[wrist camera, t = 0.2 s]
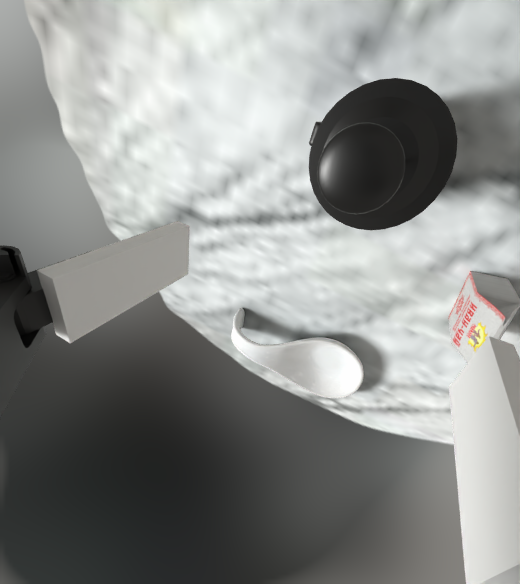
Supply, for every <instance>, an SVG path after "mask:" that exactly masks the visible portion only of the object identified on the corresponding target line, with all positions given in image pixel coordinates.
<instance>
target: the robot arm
mask: <svg viewBox="0 0 520 584" xmlns="http://www.w3.org/2000/svg"><path fill="white" fill-rule="evenodd" d="M188 265H189V225H186V224H183V223H180V222H178V221H176V222H174V223H171V224H168V225H165V226H162V227H159V228H156V229H153V230H151V231H148V232H145V233H142V234H139V235H136V236H133V237H131V238H128V239H125V240H122V241H119V242H116V243H113V244H111V245H108V246H105V247H102V248H99V249H96V250H93V251H90V252H87V253H84V254H81V255H79V256H75V257H73V258H70V259H68V260H64V261H61V262H58V263H55V264H53V265H50V266H47V267H44V268H41V269H38V270H35V271H32V272H30V273H27V270H26V267H25V264H24V261H23V258H22V255H21V252H20V251H19V249H18V248H15V247H12V246H0V418H1V416H2V414H3V412H4V410H5V409H6V407H7V405H8V403H9V401H10V399H11V398H12V396H13V394H14V392H15V390H16V388H17V386H18V385H19V383H20V381H21V379H22V377H23V375H24V373H25V372H26V370H27V368H28V366H29V364H30V362H31V360H32V358H33V356H34V355H35V353H36V351H37V349H38V348H39V346H40V344H41V342H42V340H43V338H44V337H45V335H46V328H45V326H46V325H48V324H49V323H51V322H53V325H54V329H55V332H56V334H57V335H58V336H59V337H61V338H63V339H64V340H66V341H67V342H69V343H72V342H73V341H75V340H77V339H78V338H80V337H82V336H83V335H85V334H87V333H89V332H90V331H92V330H94V329H95V328H97V327H99V326H101V325H102V324H104V323H105V322H107V321H109V320H111V319H112V318H114V317H116V316H117V315H119V314H121V313H123V312H124V311H126V310H128V309H129V308H131V307H133V306H134V305H136V304H138V303H140V302H141V301H143V300H145V299H146V298H148V297H150V296H151V295H153V294H155V293H157V292H158V291H160V290H162V289H164V288H165V287H167V286H169V285H170V284H172V283H174V282H175V281H177V280H179V279H181V278H182V277H184V276H186V275H187V274H188ZM449 393H450V405H451V416H452V427H453V439H454V450H455V462H456V473H457V483H458V496H459V506H460V519H461V530H462V540H463V553H464V564H465V575H466V584H520V359H519V356H518V354H517V352H516V349H515V347H514V345H512V344H510V343H507V342H504V341H501V340H499V339H496V338H493V337H491V336H488V338H487V339H486V340H485V341H484V343H483V344H482V345H481V346H480V348H479V349H478V350H477V352H476V353H475V354H474V355H473V357H472V358H471V359H470V360H469V362H468V363H467V364H466V366H465V367H464V368H463V369H462V371H461V372H460V373H459V374H458V376H457V377H456V378H455V380H454V381H453V382H452V383H451V385H450V386H449Z"/></svg>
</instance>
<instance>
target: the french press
mask: <svg viewBox="0 0 520 584" xmlns="http://www.w3.org/2000/svg"><path fill="white" fill-rule="evenodd" d="M309 144H310V145H311V146H312V147H311V151H310V157H309V173H310V181H311V184H312V188H313V191H314V194H315V195H316V197H317V199H318V201H319V203H320V204H321V205H322V207H323V208H324V209H325V210H326V212H327V213H328V214H330V215H331V216H332V217H333V218H335V219H336V220H337V221H339V222H341V223H343V224H345V225H347V226H350V227H354V228H357V229H364V230H380V229H386V228H390V227H394V226H398V225H400V224H402V223H404V222H406V221H409V220H411V219H412V218H414V217H415V216H417V215H418V214H420V213H421V212H422V211H424V210H425V209H426V208H427V207H428V206H429V205H430V204H431V203H432V202H433V201H434V200H435V199H436V198H437V196H438V195H439V193H440V192H441V191H442V189H443V188H444V187H445V185H446V182H447V180H448V178H449V176H450V174H451V172H452V169H453V165H454V162H455V158H456V150H457V135H456V128H455V123H454V120H453V118H452V116H451V113H450V111H449V109H448V107H447V106H446V104H445V103H444V102H443V101H442V99H441V98H440V97H439V96H438V95H437V94H436V93H435V92H433V91H432V90H431V89H429V88H428V87H427V86H424V85H422V84H420V83H417V82H415V81H412V80H406V79H398V78H392V79H381V80H377V81H374V82H371V83H367V84H364V85H362V86H361V87H359V88H357V89H355V90H353V91H351V92H349V93H348V94H347V95H346V96H345V97H343V98H342V99H341V100H340V101H338V102H337V103H336V104H335V105H334V107H333V108H332V109H331V110H330V111H329V112H328V113H327V114H326V116H325V118H324V119H323V121H322V122H316V123H315V126H314V129H313V132H312V135H311V138H310V142H309Z"/></svg>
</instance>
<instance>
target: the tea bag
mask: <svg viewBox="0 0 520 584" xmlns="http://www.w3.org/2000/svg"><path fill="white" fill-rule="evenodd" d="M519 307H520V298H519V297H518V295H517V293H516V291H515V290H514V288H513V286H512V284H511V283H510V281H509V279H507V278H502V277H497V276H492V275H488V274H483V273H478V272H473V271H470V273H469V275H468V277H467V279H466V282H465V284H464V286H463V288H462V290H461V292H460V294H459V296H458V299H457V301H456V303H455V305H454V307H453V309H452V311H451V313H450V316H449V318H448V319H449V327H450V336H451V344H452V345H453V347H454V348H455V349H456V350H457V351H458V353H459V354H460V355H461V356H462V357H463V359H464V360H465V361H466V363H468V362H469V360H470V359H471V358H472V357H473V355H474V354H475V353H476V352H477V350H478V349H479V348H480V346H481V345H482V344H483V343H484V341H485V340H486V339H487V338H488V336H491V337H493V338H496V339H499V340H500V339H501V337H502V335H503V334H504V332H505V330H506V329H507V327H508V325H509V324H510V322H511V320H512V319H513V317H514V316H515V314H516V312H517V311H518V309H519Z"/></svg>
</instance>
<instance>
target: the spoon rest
mask: <svg viewBox="0 0 520 584" xmlns="http://www.w3.org/2000/svg"><path fill="white" fill-rule="evenodd" d="M244 317H245V311H244V309H243V308H240V309H239V310H238V311H237V313H236V314H235V317H234V321H233V330H232V335H231V338H232V342H233V343H234V345H235V346H236V348H237V349H238V350H239V351H240V352H241V353H242V354H243V355H245V356H246V357H247V358H249V359H250V360H252V361H254V362H256V363H258V364H260V365H262V366H264V367H266V368H268V369H270V370H272V371H273V372H275V373H277V374H279V375H281V376H282V377H284V378H286V379H287V380H289V381H291V382H293V383H294V384H296V385H298V386H300V387H301V388H303V389H305V390H307V391H309V392H311V393H313V394H316V395H319V396H322V397H326V398H343V397H347V396H349V395H351V394H353V393H355V392H356V391H357V390H358V389H359V387H360V386H361V384H362V382H363V378H364V370H363V366H362V363H361V361H360V360H359V358H358V357H357V355H356V354H355V353H354V352H353V351H352V350H351V349H350V348H349V347H347V346H346V345H344V344H343V343H341V342H339V341H336V340H334V339H330V338H322V337H315V338H308V339H301V340H296V341H292V342H287V343H281V344H273V345H263V344H258V343H255V342H253V341H251V340H249V339H248V338H247V337H245V336H244V335H243V333H242V332H241V330H240V329H241V328H242V326H243V323H244Z"/></svg>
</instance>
